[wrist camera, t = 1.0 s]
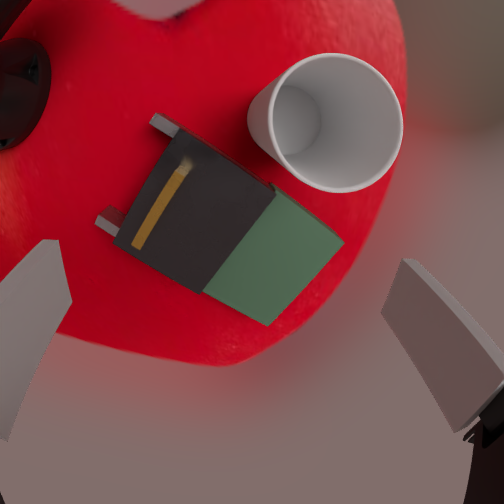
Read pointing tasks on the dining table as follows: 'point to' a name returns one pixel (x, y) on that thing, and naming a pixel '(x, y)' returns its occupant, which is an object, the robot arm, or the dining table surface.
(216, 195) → the cover
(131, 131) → the dining table surface
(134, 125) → the dining table surface
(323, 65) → the cup
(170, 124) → the bracket
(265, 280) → the green rectangular box
